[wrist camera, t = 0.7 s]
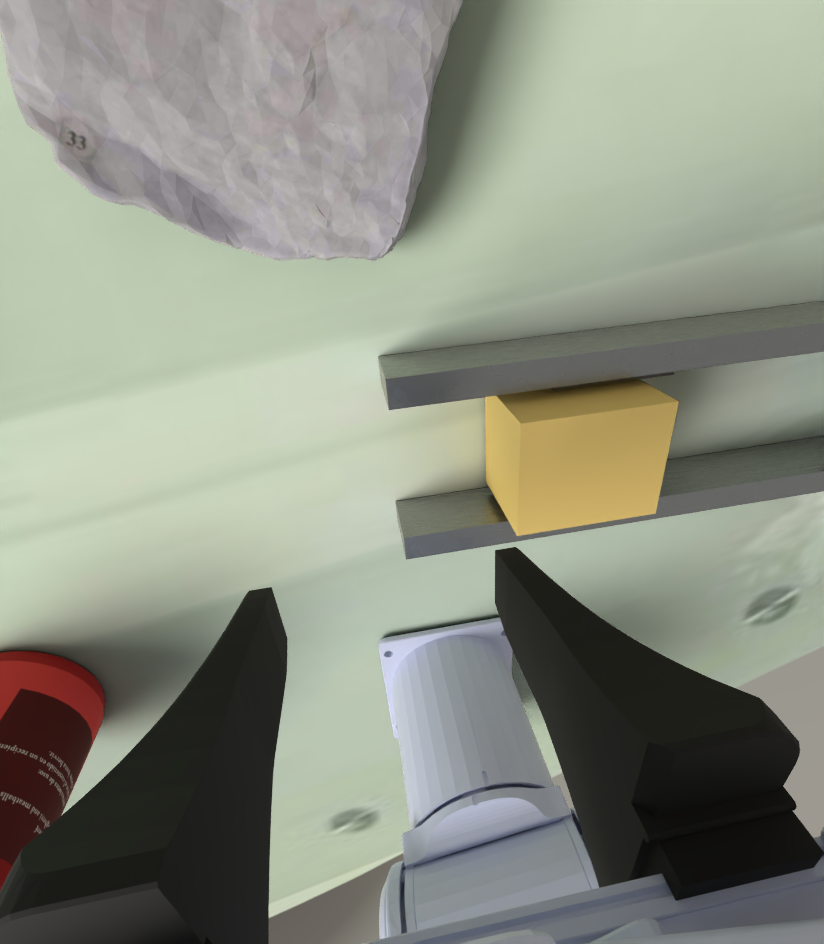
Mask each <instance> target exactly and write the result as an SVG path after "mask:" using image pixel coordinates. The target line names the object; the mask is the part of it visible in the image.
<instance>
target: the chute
mask: <svg viewBox="0 0 824 944" xmlns="http://www.w3.org/2000/svg"><path fill="white" fill-rule="evenodd" d="M822 351H824V301H819V302H811V303H803V304H795V305H787V306H779V307H771V308H763V309H755V310H747V311H739V312H731V313H723V314H715V315H707V316H699V317H691V318H683V319H675V320H667V321H659V322H651V323H643V324H635V325H627V326H619V327H611V328H603V329H595V330H587V331H578V332H570V333H562V334H554V335H546V336H538V337H530V338H522V339H514V340H506V341H498V342H490V343H482V344H474V345H466V346H458V347H450V348H442V349H434V350H426V351H418V352H410V353H402V354H394V355H386V356H378V359H379V367H380V376H381V384H382V388H383V391H384V395H385V398H386V401H387V405H388V408H389V410H393V409H400V408H408V407H415V406H423V405H430V404H437V403H445V402H452V401H460V400H467V399H474V398H482V397H489V396H497V395H504V394H511V393H519V392H526V391H534V390H541V389H548V388H551V389H552V390H554V391H555V390H562V389H570V388H577V387H584V386H592V385H599V384H607V383H614V382H621V381H629V380H636V379H643V378H651V377H658V376H666V375H673V374H674V371H682V370H689V369H697V368H704V367H711V366H719V365H726V364H734V363H741V362H748V361H756V360H763V359H771V358H778V357H785V356H793V355H800V354H808V353H815V352H822ZM821 491H824V436H821V437H814V438H808V439H801V440H794V441H788V442H781V443H775V444H768V445H762V446H755V447H748V448H742V449H735V450H729V451H722V452H716V453H709V454H702V455H696V456H689V457H683V458H676V459H670V460H667V461H666V466H665V471H664V476H663V481H662V485H661V490H660V495H659V500H658V504H657V509H656V514H650V515H644V516H637V517H631V518H625V519H619V520H613V521H607V522H601V523H594V524H588V525H582V526H576V527H570V528H564V529H557V530H551V531H545V532H539V533H533V534H527V535H521V536H517V535H516V533H515V531H514V530H513V528H512V526H511V524H510V523H509V521H508V519H507V517H506V516H505V514H504V512H503V510H502V509H501V507H500V505H499V503H498V501H497V500H496V498H495V496H494V494H493V493H492V491H491V489H490V487H486V488H479V489H473V490H466V491H460V492H453V493H446V494H440V495H433V496H427V497H420V498H414V499H407V500H400V501H396V509H397V517H398V524H399V528H400V533H401V538H402V542H403V547H404V552H405V556H406V559H412V558H418V557H424V556H430V555H436V554H442V553H448V552H454V551H461V550H467V549H473V548H479V547H485V546H491V545H497V544H503V543H509V542H516V541H522V540H528V539H534V538H540V537H546V536H552V535H558V534H565V533H571V532H577V531H583V530H589V529H595V528H601V527H607V526H613V525H620V524H626V523H632V522H638V521H644V520H650V519H656V518H662V517H668V516H675V515H681V514H687V513H693V512H699V511H705V510H711V509H717V508H723V507H730V506H736V505H742V504H748V503H754V502H760V501H766V500H772V499H779V498H785V497H791V496H797V495H803V494H809V493H815V492H821Z"/></svg>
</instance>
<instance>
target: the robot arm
mask: <svg viewBox="0 0 824 944" xmlns="http://www.w3.org/2000/svg"><path fill="white" fill-rule="evenodd" d="M495 604H496V607H497V610H498V613H499V616H500V617H499V618H493V619H487V620H482V621H476V622H470V623H465V624H459V625H454V626H448V627H442V628H437V629H431V630H425V631H420V632H414V633H409V634H403V635H397V636H392V637H386V638H383V639H382V640H380V642H379V653H380V658H381V664H382V670H383V676H384V681H385V687H386V693H387V699H388V705H389V710H390V716H391V722H392V728H393V733H394V737H395V738H396V739H399V745H400V753H401V760H402V768H403V776H404V784H405V792H406V799H407V807H408V815H409V823H410V831H408V832H405V833H403V834H402V845H403V854H404V861H401V862H397V863H395V864H393V865H392V867H391V869H390V871H389V874H388V878H387V880H386V882H385V885H384V887H383V890H382V893H381V900H380V913H379V930H380V939H378V940H374V941H370V942H366V943H362V944H824V827H823V829H822V831H821V836H819V837H815V838H813V837H812V836H811V835H810V833H809V832H808V831H807V829H806V828H805V827H804V825H803V824H802V823H801V821H800V820H799V819H798V818H797V816H796V815H795V814H794V812H793V811H792V810H795V809H796V803H795V801H794V800H793V798H792V797H791V796H790V795H789V793H788V792H787V791H786V789H785V788H784V787H783V785H784V783H785V782H786V780H787V778H788V776H789V775H790V773H791V771H792V769H793V767H794V766H795V764H796V762H797V759H798V757H799V753H800V748H799V741H798V740H797V739H796V738H795V737H794V735H793V734H792V733H791V732H790V731H789V730H788V729H787V727H786V726H785V725H784V724H783V723H782V721H781V720H780V719H779V718H778V717H777V715H776V714H775V713H774V712H773V711H772V710H771V709H770V708H769V707H768V706H767V705H766V704H765V703H764V702H763V701H762V700H761V699H760V698H758V697H756V696H753V695H751V694H748V693H745V692H743V691H741V690H738V689H736V688H733V687H731V686H728V685H726V684H723V683H721V682H718V681H715V680H713V679H711V678H709V677H706V676H704V675H702V674H700V673H698V672H696V671H693V670H691V669H689V668H687V667H685V666H683V665H681V664H679V663H677V662H675V661H673V660H671V659H669V658H667V657H665V656H663V655H661V654H659V653H657V652H656V651H654V650H652V649H650V648H648V647H646V646H645V645H643V644H641V643H639V642H638V641H636V640H634V639H632V638H631V637H629V636H627V635H626V634H624V633H623V632H621V631H620V630H618V629H616V628H615V627H613V626H612V625H610V624H609V623H607V622H606V621H604V620H603V619H601V618H600V617H599V616H597V615H596V614H594V613H593V612H592V611H590V610H589V609H588V608H586V607H585V606H584V605H582V604H581V603H580V602H579V601H577V600H576V599H575V598H573V597H572V596H571V595H570V594H569V593H567V592H566V591H565V590H564V589H563V588H561V587H560V586H559V585H558V584H557V583H555V582H554V581H553V580H552V579H551V578H550V577H548V576H547V575H546V574H545V573H544V572H543V571H542V570H541V569H540V568H538V567H537V566H536V565H535V564H534V563H533V562H532V561H531V560H530V559H529V558H528V557H527V556H525V555H524V554H523V553H522V552H521V551H520V550H519V549H518V548H516V547H513V548H507V549H501V550H495ZM512 650H513V652H514V654H515V656H516V659H517V661H518V663H519V665H520V667H521V669H522V671H523V674H524V676H525V678H526V680H527V682H528V684H529V686H530V689H531V691H532V693H533V695H534V697H535V699H536V701H537V704H538V706H539V708H540V711H541V713H542V715H543V718H544V720H545V723H546V726H547V729H548V731H549V734H550V737H551V740H552V743H553V745H554V748H555V751H556V754H557V757H558V760H559V763H560V766H561V769H562V772H563V774H564V777H565V780H566V783H567V786H568V789H569V792H570V795H571V798H572V801H573V805H574V808H571V813H570V811H569V808H568V806H567V803H566V801H565V798H564V796H563V793H562V791H561V788H560V786H558V785H555V786H554V784H553V781H552V779H551V776H550V773H549V771H548V768H547V766H546V763H545V760H544V758H543V755H542V753H541V750H540V748H539V745H538V742H537V740H536V737H535V735H534V732H533V729H532V727H531V724H530V722H529V719H528V717H527V714H526V711H525V709H524V706H523V704H522V701H521V698H520V696H519V693H518V691H517V688H516V685H515V683H514V680H513V678H512ZM387 651H389V652H387ZM286 674H287V636H286V633H285V630H284V626H283V623H282V620H281V617H280V613H279V610H278V607H277V604H276V600H275V597H274V594H273V591H272V587H270V588H264V589H258V590H252V591H249V592H248V593H247V594H246V596H245V597H244V599H243V601H242V602H241V604H240V606H239V608H238V609H237V611H236V613H235V614H234V616H233V618H232V619H231V621H230V623H229V624H228V626H227V628H226V629H225V631H224V632H223V634H222V635H221V637H220V639H219V640H218V642H217V643H216V645H215V646H214V648H213V649H212V651H211V652H210V654H209V655H208V657H207V658H206V660H205V661H204V663H203V664H202V665H201V667H200V668H199V670H198V671H197V672H196V674H195V675H194V677H193V678H192V679H191V681H190V682H189V683H188V685H187V686H186V688H185V689H184V690H183V691H182V693H181V694H180V695H179V697H178V698H177V699H176V700H175V702H174V703H173V704H172V705H171V706H170V708H169V709H168V710H167V711H166V712H165V714H164V715H163V716H162V717H161V718H160V720H159V721H158V722H157V723H156V724H155V725H154V726H153V728H152V729H151V730H150V731H149V732H148V733H147V734H146V735H145V736H144V737H143V739H142V740H141V741H140V742H139V743H138V744H137V745H136V746H135V747H134V748H133V749H132V750H131V751H130V752H129V753H128V754H127V755H126V757H125V758H124V759H123V760H122V761H121V762H120V763H119V764H118V765H117V766H115V767H114V768H113V769H112V770H111V771H110V772H109V773H108V774H107V775H106V776H105V777H104V778H103V779H102V780H101V781H100V782H99V783H98V784H97V785H96V786H94V787H93V788H92V789H91V790H90V791H89V792H88V793H87V794H86V795H85V796H84V797H83V798H81V799H80V800H79V801H78V802H77V803H76V804H75V805H74V806H72V807H71V808H70V809H69V810H68V811H67V812H65V813H64V814H63V815H62V816H61V817H59V818H58V819H57V820H56V821H55V822H53V823H52V824H51V825H50V826H49V827H48V828H46V829H45V830H44V831H43V832H42V833H40V834H39V835H38V836H37V837H36V838H35V839H33V840H32V841H31V842H30V843H28V844H27V845H26V846H25V847H23V848H22V850H21V852H20V853H19V855H18V857H17V859H16V861H15V862H14V864H13V866H12V868H11V870H10V872H9V873H8V875H7V878H6V880H5V882H4V884H3V886H2V888H1V890H0V944H268V905H269V855H270V827H271V803H272V783H273V769H274V759H275V751H276V744H277V738H278V731H279V724H280V717H281V710H282V703H283V696H284V689H285V682H286ZM571 816H572V817H571Z"/></svg>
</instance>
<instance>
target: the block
mask: <svg viewBox="0 0 824 944" xmlns="http://www.w3.org/2000/svg"><path fill="white" fill-rule="evenodd" d="M678 404H679V401H677V400H675V399H674V398H672V397H670V396H668V395H666V394H665V393H663V392H661V391H659V390H657V389H656V388H654V387H652V386H650V385H648V384H647V383H645V382H643V381H641V380H639V379H636V380H629V381H621V382H614V383H607V384H599V385H592V386H584V387H577V388H570V389H562V390H555V391H554V390H552V389H551V388H548V389H541V390H534V391H526V392H519V393H511V394H504V395H497V396H489V397H485V418H486V482H487V484H488V486H489V487H490V489H491V491H492V493H493V494H494V496H495V498H496V500H497V501H498V503H499V505H500V507H501V509H502V510H503V512H504V514H505V516H506V517H507V519H508V521H509V523H510V524H511V526H512V528H513V530H514V531H515V533H516V535H517V536H521V535H527V534H533V533H539V532H545V531H551V530H557V529H564V528H570V527H576V526H582V525H588V524H594V523H601V522H607V521H613V520H619V519H625V518H631V517H637V516H644V515H650V514H656V509H657V504H658V500H659V495H660V490H661V485H662V481H663V476H664V471H665V466H666V461H667V457H668V452H669V447H670V442H671V437H672V433H673V428H674V423H675V418H676V414H677V409H678Z"/></svg>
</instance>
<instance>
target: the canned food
mask: <svg viewBox="0 0 824 944" xmlns="http://www.w3.org/2000/svg"><path fill="white" fill-rule="evenodd" d="M104 707H105V696H104V691H103V689H102V687H101V684H100V683H99V682H98V681H97V679H96V678H95V677H94V676H93V675H92V674H91V673H89V672H88V671H87V670H86V669H85V668H83V667H81V666H79V665H78V664H76V663H74V662H72V661H70V660H67V659H64V658H62V657H59V656H55V655H51V654H47V653H40V652H32V651H10V652H1V653H0V890H1V888H2V886H3V884H4V882H5V880H6V878H7V875H8V873H9V872H10V870H11V868H12V866H13V864H14V862H15V861H16V859H17V857H18V855H19V853H20V852H21V850H22V848H23V847H25V846H26V845H27V844H28V843H30V842H31V841H32V840H33V839H35V838H36V837H37V836H38V835H39V834H40V833H42V832H43V831H44V830H45V829H46V828H48V827H49V826H50V825H51V824H52V823H53V822H55V821H56V820H57V819H58V818H59V817H61V815H62V813H63V810H64V808H65V806H66V803H67V801H68V799H69V797H70V794H71V792H72V790H73V788H74V785H75V783H76V781H77V778H78V776H79V774H80V772H81V769H82V767H83V765H84V762H85V760H86V758H87V756H88V753H89V751H90V749H91V747H92V744H93V742H94V740H95V737H96V735H97V733H98V731H99V728H100V726H101V724H102V720H103V716H104Z"/></svg>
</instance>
